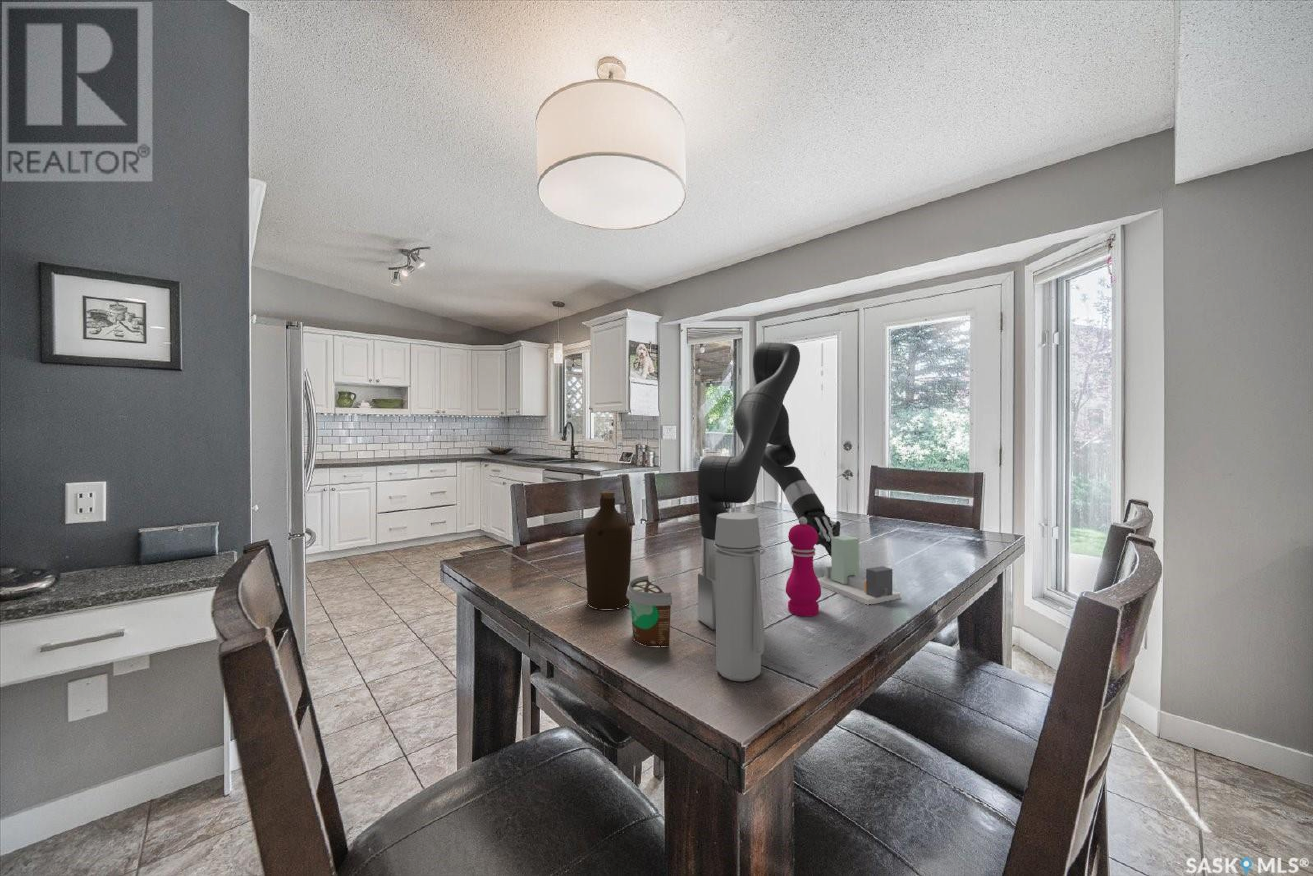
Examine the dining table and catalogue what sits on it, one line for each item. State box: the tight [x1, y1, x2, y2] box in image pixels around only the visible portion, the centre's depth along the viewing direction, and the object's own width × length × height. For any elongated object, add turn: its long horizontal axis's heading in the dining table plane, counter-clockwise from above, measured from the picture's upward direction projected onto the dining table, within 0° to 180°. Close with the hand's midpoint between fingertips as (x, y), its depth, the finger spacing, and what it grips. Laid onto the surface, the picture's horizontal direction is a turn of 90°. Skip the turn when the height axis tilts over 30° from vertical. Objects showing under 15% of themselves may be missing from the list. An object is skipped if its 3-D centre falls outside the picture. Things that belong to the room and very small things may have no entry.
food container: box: [626, 575, 673, 648], centre depth 92 cm, size 12×6×10 cm, turn 22°
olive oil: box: [583, 490, 633, 610], centre depth 111 cm, size 11×11×25 cm
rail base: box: [817, 565, 902, 606], centre depth 119 cm, size 10×17×7 cm, turn 23°
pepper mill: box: [785, 517, 822, 617], centre depth 105 cm, size 7×7×20 cm
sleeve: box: [830, 535, 860, 584], centre depth 121 cm, size 5×4×10 cm
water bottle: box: [714, 511, 767, 682], centre depth 78 cm, size 9×8×25 cm
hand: (837, 556), depth 124 cm, fingers closed
